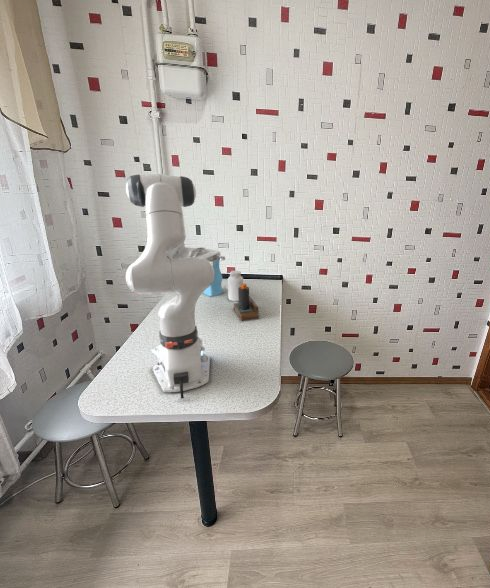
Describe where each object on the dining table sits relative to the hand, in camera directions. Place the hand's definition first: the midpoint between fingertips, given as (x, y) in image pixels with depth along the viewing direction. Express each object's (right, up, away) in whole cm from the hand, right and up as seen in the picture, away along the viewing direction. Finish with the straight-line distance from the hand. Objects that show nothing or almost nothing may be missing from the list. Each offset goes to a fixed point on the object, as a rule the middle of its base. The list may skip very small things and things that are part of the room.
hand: (219, 261), depth 152 cm
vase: (-12, -15, +29) cm, 35 cm away
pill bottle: (+2, -18, +23) cm, 30 cm away
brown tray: (+11, -25, +7) cm, 28 cm away
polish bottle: (+10, -22, +5) cm, 25 cm away
